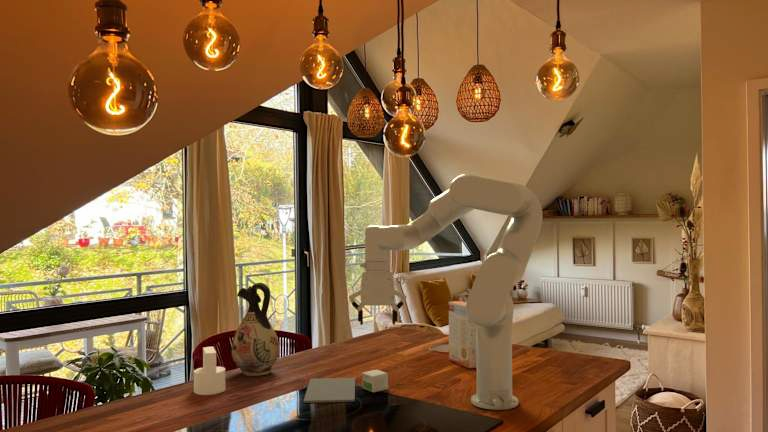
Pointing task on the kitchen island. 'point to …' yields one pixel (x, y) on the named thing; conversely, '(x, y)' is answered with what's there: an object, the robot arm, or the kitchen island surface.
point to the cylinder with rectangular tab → (209, 375)
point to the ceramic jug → (255, 335)
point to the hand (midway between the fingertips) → (377, 323)
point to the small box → (375, 380)
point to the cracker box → (461, 335)
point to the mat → (330, 390)
